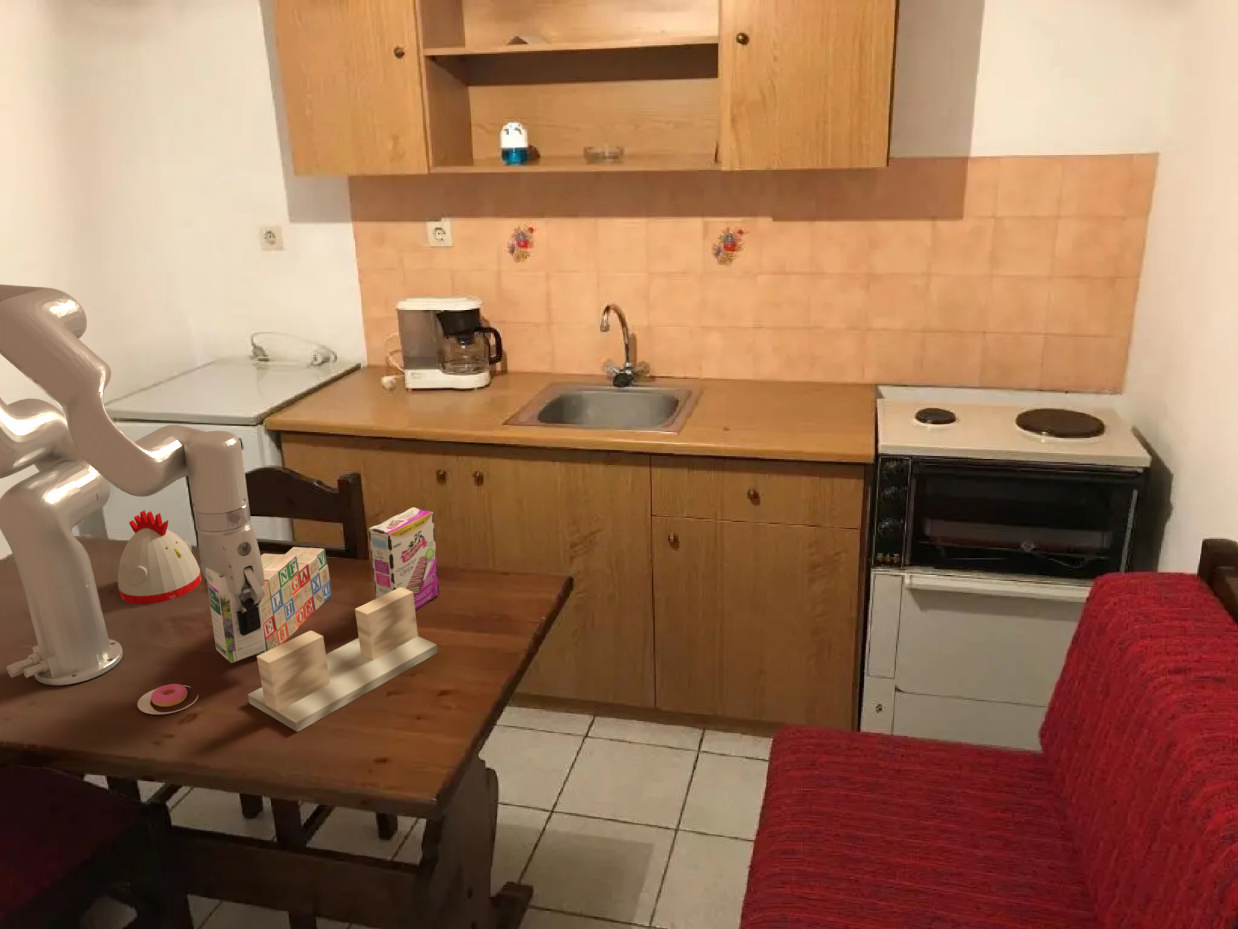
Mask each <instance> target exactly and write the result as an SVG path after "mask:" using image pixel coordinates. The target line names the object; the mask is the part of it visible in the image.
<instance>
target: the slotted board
mask: <svg viewBox="0 0 1238 929" xmlns="http://www.w3.org/2000/svg"><path fill="white" fill-rule="evenodd" d="M354 612H355V619H356V627H357V633H358V638H355V639H353V640H352V641H349V642H347V643H346V644H344V645H341V646H340V647H338V648H335V649H334V650H332V651H330V652H328V653H327V652H326V646H325V641H324V640H325V639H324V635H322V634H320V633H317V632H315V631H313V630H309V631H306V632H304V633H302V634H300V635H298V636H296V637H294V638H292V639H290V640H287V641H285V642H284V643H283V644H281V645H279V646H277V647H275V648H273V649H271V650H269V651H267V652H265V653H263V654H261V655H256V659H257V660H256V661H257V666H258V672H259V678H260V682H261V687H259V688H257V689H256V690H254V691H252V692H250V693H248V694H247V698H248V704H250V705H252V706H253V707H255V708H256V709H258V710H260V711H262V712H263V713H265V714H267V715H269V716H270V717H272V718H274V719H275V720H277V721H278V722H280V723H282V724H283V725H285V726H287V727H288V728H290V729H292V730H293V731H295V732H296V733H298V732H300V731H302V730H303V729H306V728H307V727H309V726H312V725H313V724H314V723H316V722H318V721H320V720H321V719H323V718H325V717H327V716H329V715H330V714H332V713H334V712H336V711H338V710H339V709H341V708H342V707H344V706H346V705H349V704H350V703H351V702H354V701H355V700H357V699H359V698H361V697H362V696H364V695H366V694H368V693H369V692H371V691H372V690H373V691H374V690H375V689H377V688H378V687H380V686H382V685H383V684H385V683H386V682H388V681H390V680H393V679H394V678H396V677H398V676H400V675H401V674H403V673H404V672H407V671H408V670H410V669H412V668H413V667H415V666H418V665H419V664H420V663H422V662H425V661H426V660H427V659H429V658H432V657H433V656H434V655H437V654H438V644H436V643H434V642H432V641H430V640H427V639H425V638H423V637H420V635H419V634H418V633H419V631H418V624H417V618H416V610H415V605H414V596H413V592H412V591H410V590H407V589H405V588H402V587H399V588H397V589H395V590H393V591H391V592H389V593H387V594H385V595H383V596H381V597H379V598H377V599H376V598H375V599H373V600H371V601H369V602H366V603H365V604H363V605H361V606H357V607H356V608H354Z"/></svg>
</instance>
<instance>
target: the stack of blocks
mask: <svg viewBox="0 0 1238 929" xmlns="http://www.w3.org/2000/svg"><path fill="white" fill-rule="evenodd" d="M260 556H261V561H262V566H263V572H264V579H265V583H264V585H263V586H261V587H262V589H263V591H264V593H265V596H264V597H263V598H262V600H261V602H260V604H261V612H262V621H263V629H264V639H265V647H266V650H264V651H262V652H259V653H257V654H254V655H253V656H259V655H261V654H263V653H265V652H267V651H269V650H271V649H273V648H275V647H277V646H279V645H281V644H283V643H285V642H287V641H288V639H289V638H290V637H291V636H293V634H294V633H295V632H297V630H298V629H299V628H300V627H301V625H303V624H304V623H305V622H306V621H307V619H308V618H309V617H310V616H312V614H313V613H315V612H316V611H317V610H318V609H319V608H320V607H321V606H322V605H323V604H324V603H325V602H326V601H327V600H328V599H329V598H330V597H331V596H332V595H333V592H332V586H331V580H330V572H329V565H328V563H327V562H328V561H327V556H326V550H325V548H320V547H319V548H314V547H302V546H301V547H299V546H292V548H291V549H289V550H288V551H287V552H286V553H284V554H277V553H275V554H274V553H263V554H260Z"/></svg>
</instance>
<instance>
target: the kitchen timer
mask: <svg viewBox="0 0 1238 929" xmlns="http://www.w3.org/2000/svg"><path fill="white" fill-rule="evenodd" d="M133 518H134V519H132V520H130V521H128V523H129V526H130V527H131V529H132V530H133V532H134V534H133V535H132V536H131V537H130V539H129V540H128V541H127V542H126V545H125V547H124V549H123V551H122V553H121V556H120V560H119V563H118V564H119V565H118V572H117V586H118V591H119V595H120V598H121V599H122V600H123V601H124V602H126V603H130V604H138V605H139V604H140V605H147V604H148V605H149V604H158V603H162V602H166V601H167V602H168V601H170V600H175V599H177V598H180V597H183V596H185V595H186V594H188V593H190V592H193V590H195V589H196V588H197V587H198V586H199V585H200V584H201V582H202V571H201V568H200V565H199V564H198V562H197V560H196V558H195V556H194V554H193V553H192V551H193V550H192V548H193V547H192V545H191V543H190V542H189V541H188V540H187V539H182V538H181V537H180V536H179V535H178V534H176V533H174V532H173V531H171V530H169V529H168V525H169V520H166V521H165V520H164V522H163V519H162V515H161V513H160V512H159V513H156V514H155V515H154V514H153V512H152V511H148V512H147V513H146V510H144V509H143V510H142V511H140V512H139V515H138V514H137V515H135V516H134V517H133Z"/></svg>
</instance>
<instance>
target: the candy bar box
mask: <svg viewBox="0 0 1238 929" xmlns="http://www.w3.org/2000/svg"><path fill="white" fill-rule="evenodd" d="M434 522H435V521H434V512H433V511H431V510H427V509H422V508H418V507H410V508H409V509H406V510H404V511H402V512H400V513H397V514H396V515H395V516H394V515H393V516H392V517H390V518H388V519H386V520H383V521H382V522H380V523H378V524H376V525H373V526H371V527H369V528H368V535H369V543H370V551H371V552H370V554H371V562H372V570H373V571H372V572H373V581H374V592H375V599H377V598H379V597H381V596H383V595H385V594H387V593H389V592H391V591H393V590H395V589H397V588H399V587H402V588H405V589H407V590H410V591H412V592H413V596H414V605H415V611H416V610H418V609H419V608H421V607H423V606H424V605H426V604H427V603H430V601H432V600H434V599H436V598H437V597H439V596H440V584H439V573H438V572H439V570H438V560H437V559H438V558H437V549H436V547H437V546H436V535H435V523H434ZM438 595H439V596H438ZM436 596H437V597H436ZM435 597H436V598H435Z"/></svg>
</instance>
